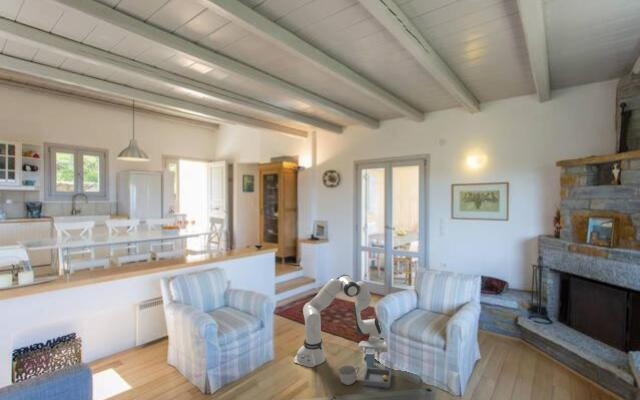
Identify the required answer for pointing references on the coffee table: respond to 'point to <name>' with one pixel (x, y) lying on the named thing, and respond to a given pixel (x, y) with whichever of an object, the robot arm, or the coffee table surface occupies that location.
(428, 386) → the coffee table surface
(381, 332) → the robot arm
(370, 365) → the shaker
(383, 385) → the tray
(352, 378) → the teacup
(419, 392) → the coffee table surface
